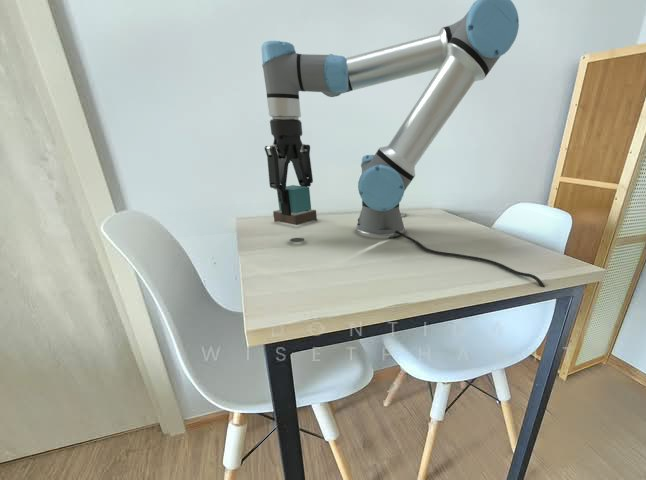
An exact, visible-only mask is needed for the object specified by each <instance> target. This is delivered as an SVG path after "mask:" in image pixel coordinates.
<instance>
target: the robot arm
mask: <svg viewBox="0 0 646 480" xmlns="http://www.w3.org/2000/svg"><path fill="white" fill-rule="evenodd" d="M519 22H520V21H519V13H518V10H517V7H516V5H515V4H514V2H513V1H512V0H475V1H474V2H473V3H472V5H471V6H470V8H469V9H468V11H467V12H466V13H465V15H464V16H463V17H462V18H461V19H460V20H457V21H456V22H454V23H452V24H450V25H446V26H442V27H441V28H440V29H439V31H438V32H437V33H436V34H431V35H427V36H424V37H420V38H417V39H412V40H409V41H405V42H401V43H398V44H393V45H390V46H386V47H382V48H379V49H374V50H371V51H367V52H363V53H360V54H355V55H353V56H348V57H345V56H343V55H336V54H333V53H329V54H304V53H303V54H302V53H298V52H296V48H295V46H294V45H293V43H290V42H288V41H280V40H267V41H264V42H263V43H262V44H261V60H262V61H261V62H262V64H261V66H262V70H263V78H264V85H265V92H266V102H267V109H268V116H269V117H271V119H270V120H269V125H270V133H271V135H272V136H273V142H272V144H271V145H265V146H264V151H265V155H266V157H267V169H268V170H267V171H268V181H269V182H268V183H269V187H270V188H271V189H273V190H275V191H276V193H278V195H277V201H278V200H279V203H280V204H281V212H282V215H287V216H290V215H291V209H290V200H289V191H288V190H285V189H286V186H287V180H288V170H289V164H290V163H292V166H293V169H294V172H295V176H296V178H297V181H298V186H304V187H309V188H310V187H311V186H312V184H313V183H314V179H313V178H314V177H313V172H312V171H313V170H312V161H311V156H310V154H311V153H310V152H311V145H310V144H305V143H303V142H302V139H301V137H302V136H303V125H302V121H301V119H300V118H301V117H302V113H301V102H300V92H304V93H305V92H311V93H322V94H323V95H324V96H326V97H329V98H335V97H339V96H341V95H342V94H346V93H350V92H352V91H356V90H357V91H358V90H360V89H364V88H368V87H371V86H376V85H379V84H384V83H388V82H391V81H395V80H396V81H397V80H399V79H403V78H407V77H412V76H415V75H420V74H423V73H427V72H431V71H434V70H435V71H436V70H437V71H436V72H435V74H434V75H433V77H432V78H431V80H430V82H429V83H428V84H427V86H426V88H425V89H424V91H423V92H422V94H421V95H420V97H419V98H418V100H417V101H416V103H415V104H414V106H413V107H412V109H411V110H410V112H409V113H408V115H407V117H406V118H405V120H404V121H403V122H402V124H401V125H400V127H399V129H397V131H396V133H395V135H394V136H393V137H392V139H391V141H390V142H389V143H388V145H386V146H381V147H378V148H377V151H376V153H375V154H365V155H363V156H362V158H361V163H360V167H361V175H360V177H359V179H358V182H357V189H358V190H357V191H358V194H359V196H360V198H361V209H360V214H359V217H357V218H358V219H357V222H356V223H357V224H356V231H357V232H359V233H361V234H363V235H367V236H374V237H388V239H392V238H397V237H400V236H401V237H403V238H405V239H407V240H409V241H411V242H413V243H414V244H416V245H417V246H418V247H420V248H421V249H422V250H423V251H426V252H428V253H432V254H435V255H441V256H449V257H457V258H463V259H469V260H474V261H475V260H476V261H479V262H485V263H488V264H492V265H494V266H497V267H500V268H502V269H504V270H506V271H508V272H510V273H512V274H515V275H517V276H521V277H527V278H531V279H533V280H535V281H536V282H537V283H538V284H539V286H540V287H541V288H546V285H545V284H544V283H543V281H542V280H541V279H540V278H539V277H538V276H537V275H534V274H531V273H529V272H521V271H518V270H515V269H513V268H511V267H509V266H507V265H505V264H503V263H500V262H498V261H495V260H492V259H487V258H483V257H479V256H472V255H468V254H467V255H466V254H462V253H461V254H460V253H455V252H446V251H439V250H434V249H431V248H427V247H426V246H424V245H423V244H422V243H420V242H419V241H418V240H416V239H414V238H412V237H410V236H408V235H406V234H404V233H405V225H404V220H403V217H401V213H402V212H401V210H400V203H401V201H402V200H403V197H404V194H405V191H406V190H407V188H408V187H409V185H410V184H411V183H412V181H413V180H414V178H415V177H416V169H415V168H416V165H417V164H418V162H419V161H420V160H421V158H422V157H423V155H424V154H425V153H426V151H427V150H428V148H429V147H430V146H431V144H432V143H433V142H434V140H435V138H436V137H437V136H438V134H439V133H440V132H441V130H442V129H443V127H444V126H445V124H446V123H447V121H448V120H449V118H450V117H451V116H452V114H453V113H454V112H455V110H456V109H457V107H458V106H459V104H460V103H461V101H462V100H463V99H464V97H465V96H466V95H467V93H468V92H469V90H470V89H471V87H472V86H473V85H474V83H475V82H480V81H484V80H485V79H486V78H487V76H488V75H489V73H490V72H491V71H492V69H493V68H494V66H495V65H496V63H497V62H498V60H499V59H500V58H501V56H503V55H505V54H506V53H507V52H508V51H510V49H511V48H512V46H513V44H514V43H515V41H516V39H517V36H518V34H519V29H520V28H519V27H520V24H519ZM279 203H278V204H279ZM307 211H309V210H307Z"/></svg>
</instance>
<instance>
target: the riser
mask: <svg viewBox="0 0 646 480" xmlns="http://www.w3.org/2000/svg"><path fill="white" fill-rule="evenodd" d="M272 214H273V221H274V223H277V222H280V223H285V224H288V225H289V224H290V225H295V226H297V225H301V224H304V223H309V222H312V221H315V222H318V217H317V210H316V209H312V208H311V210H309V211H303V212H299V213H291V215H290V216H287V215H282V212H281V211H280V210H279V209H278V210H273V211H272Z"/></svg>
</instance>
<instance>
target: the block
mask: <svg viewBox="0 0 646 480" xmlns="http://www.w3.org/2000/svg"><path fill="white" fill-rule="evenodd" d="M285 190H288V191H289V200H290V209H291V213H299V212H303V211H307V210H311V209H312V202H311V191H310V187H304V186H300V185H295V184H291V185H286V189H285ZM276 193H277V192H276ZM277 196H278V193H277ZM277 201H278V210H280V211H281V204H280V203H279V200H278V199H277Z"/></svg>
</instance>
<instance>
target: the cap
mask: <svg viewBox="0 0 646 480" xmlns="http://www.w3.org/2000/svg"><path fill="white" fill-rule="evenodd" d="M289 241H290V242H293V243H300V242H303V241H305V238H303V237H293V238H290V239H289Z"/></svg>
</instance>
